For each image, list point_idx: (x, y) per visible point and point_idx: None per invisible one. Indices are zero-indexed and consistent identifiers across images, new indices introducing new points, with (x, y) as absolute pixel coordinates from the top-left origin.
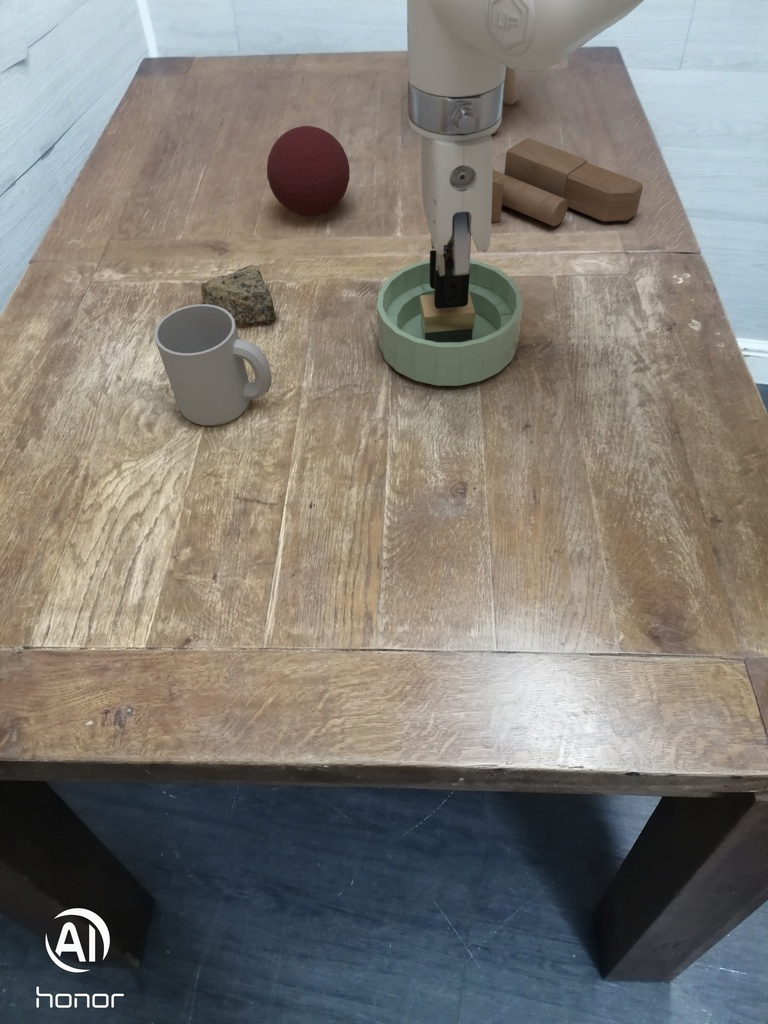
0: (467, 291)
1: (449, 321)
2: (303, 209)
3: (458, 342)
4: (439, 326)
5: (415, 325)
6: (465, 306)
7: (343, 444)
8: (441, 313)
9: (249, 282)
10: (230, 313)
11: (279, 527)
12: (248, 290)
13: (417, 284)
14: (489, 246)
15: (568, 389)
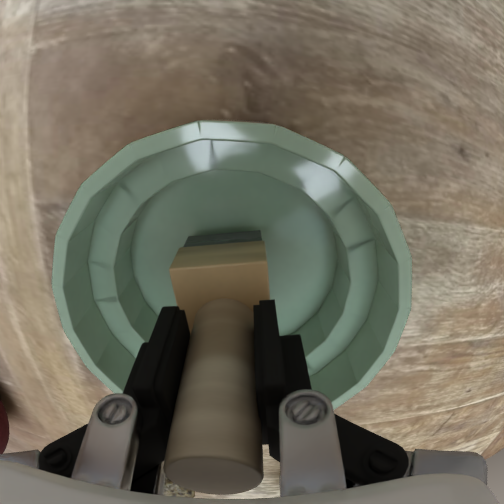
0: (277, 327)
1: None
2: (5, 419)
3: (398, 314)
4: None
5: None
6: (240, 283)
7: (415, 384)
8: None
9: (168, 495)
10: None
11: (474, 404)
12: (178, 492)
13: (115, 341)
14: (484, 489)
15: (390, 50)
